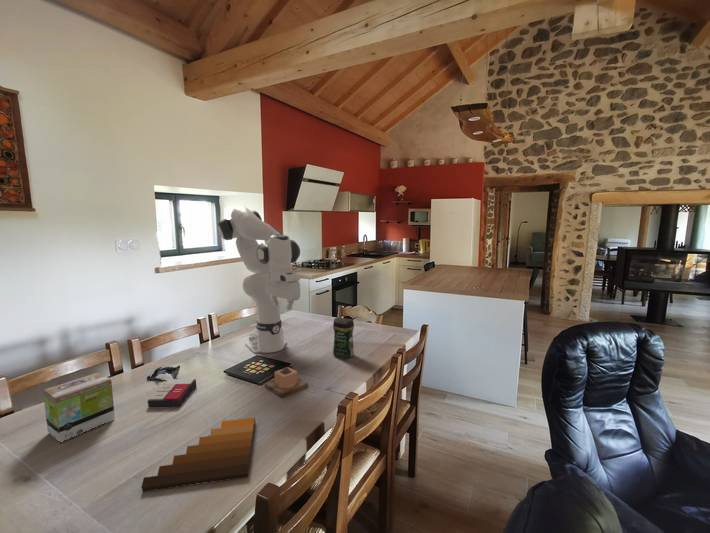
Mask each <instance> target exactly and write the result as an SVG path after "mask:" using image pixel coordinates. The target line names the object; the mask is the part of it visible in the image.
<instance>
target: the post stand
mask: <svg viewBox="0 0 710 533" xmlns="http://www.w3.org/2000/svg"><path fill="white" fill-rule="evenodd" d="M287 367H288V366H286V367H283V368H282V369H283V374H284V375H286V374H288V373H289V368H290V367H289V368H287ZM264 387H265V388H266V389H267V390H269V391H271V393H272V392H273V393H274V394H276V395H277V396H279V397H280V398H281V399H282V398H286V397H287V396H290V395H292V394H294V393H297V392H299V391H301V390H304V389H306V388H308V387H309V383H308V382H307V381H305V380H303V379H301V378H299V377H298V382H297V383H295V384H293V385H290V386H288V387H285V388H283V387H282V386H280V385H278V384H277V383H275V379H273V380H270V381H267V382H264Z"/></svg>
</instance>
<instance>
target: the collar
mask: <svg viewBox="0 0 710 533" xmlns="http://www.w3.org/2000/svg"><path fill="white" fill-rule="evenodd" d="M286 367H287V368H289V373H288V374H286V375H284V374H283V369H284V368H282V369H278V370H275V371H274V380H275V383H277V384H278V385H280V386H282V387H283V388H285V387H288V386H290V385H293V384H295V383H297V382H298V378H299V377H298V376H299V374H298V372H299V371H297V370H294V369H293V368H291V367H289V366H286Z"/></svg>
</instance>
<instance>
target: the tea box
mask: <svg viewBox="0 0 710 533" xmlns="http://www.w3.org/2000/svg"><path fill="white" fill-rule="evenodd" d="M42 392H43V400H44V401H43V402H44V410H45V411H44V412H45V413H44V414H45V418H46V419H45V420H46V421H45V422H46V429H47V433H48V432H49V433H50V434H52V435H53V436H54V437H55V438H57V439H58V440H59V441H60V442H62V441H64V440H66V441H68V440H70V439H69V438H71V437H73V438H75V437H77V436H79V435H78V434H80V435H82V434H84V433H83V432H85V431H87V430H89V431H91V430H90V429H92V428H94V427H96V428H98V427H97V426H99V425H101V424H103V423H106V422H108V421H110V420H113V419H114V420H115V418H116V417H115V404H114V396H113V383H112V379H111V378H109V377H108V376H106V375H103V374H101V373H99V372H96V373H91V374H88V375H85V376H82V377H79V378H76V379H73V380H70V381H67V382H64V383H61V384H57V385H54V386H51V387H48V388H45V389H43V390H42ZM114 420H113V421H114ZM106 424H107V423H106ZM101 426H102V425H101ZM99 427H100V426H99ZM94 429H95V428H94ZM92 430H93V429H92ZM87 432H88V431H87ZM49 433H48V434H49ZM81 433H82V434H81ZM85 433H86V432H85ZM50 434H49V435H50ZM76 435H77V436H76ZM53 436H52V437H53ZM74 436H75V437H74ZM54 437H53V438H54ZM55 438H54V439H55ZM67 439H68V440H67ZM71 439H72V438H71ZM60 442H59V443H60ZM64 442H65V441H64ZM62 443H63V442H62Z"/></svg>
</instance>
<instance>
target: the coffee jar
mask: <svg viewBox="0 0 710 533" xmlns="http://www.w3.org/2000/svg"><path fill="white" fill-rule="evenodd" d="M332 327H333V333H334V339H333V347H332V348H333V351H332V354H333V356H334V357H336V358H340V359H346V360H347V359H351V358H352V357H353V356H354V354H355V352H354V350H355V349H354V348H355V347H354V336H353V333H354V328H355V323H354V319H353V318H352V319H351V318H345V317H340V316H338V317H335V318H334V319H333V324H332Z"/></svg>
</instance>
